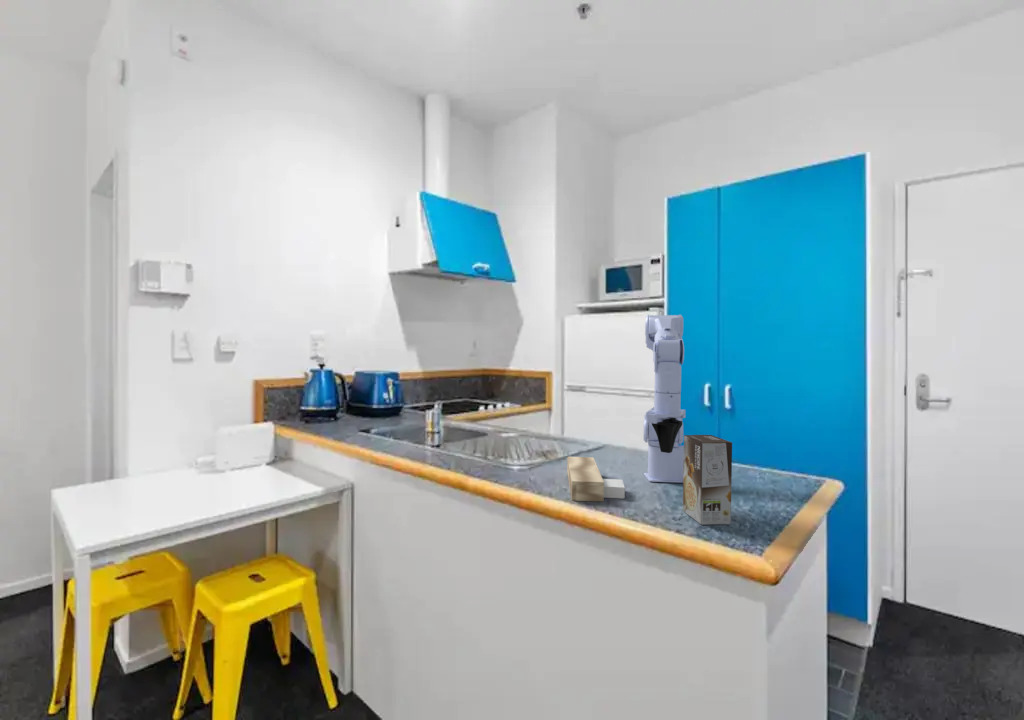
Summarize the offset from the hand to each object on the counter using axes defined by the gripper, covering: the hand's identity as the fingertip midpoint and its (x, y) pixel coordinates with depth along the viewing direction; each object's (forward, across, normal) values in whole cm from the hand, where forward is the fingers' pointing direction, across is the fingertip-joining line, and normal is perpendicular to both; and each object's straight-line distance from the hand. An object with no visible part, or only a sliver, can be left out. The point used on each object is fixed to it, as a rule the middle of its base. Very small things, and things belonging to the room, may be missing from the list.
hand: (666, 452), depth 115 cm
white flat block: (+10, +8, -12) cm, 18 cm away
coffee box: (+11, +7, +12) cm, 17 cm away
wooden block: (+10, +5, -19) cm, 22 cm away
